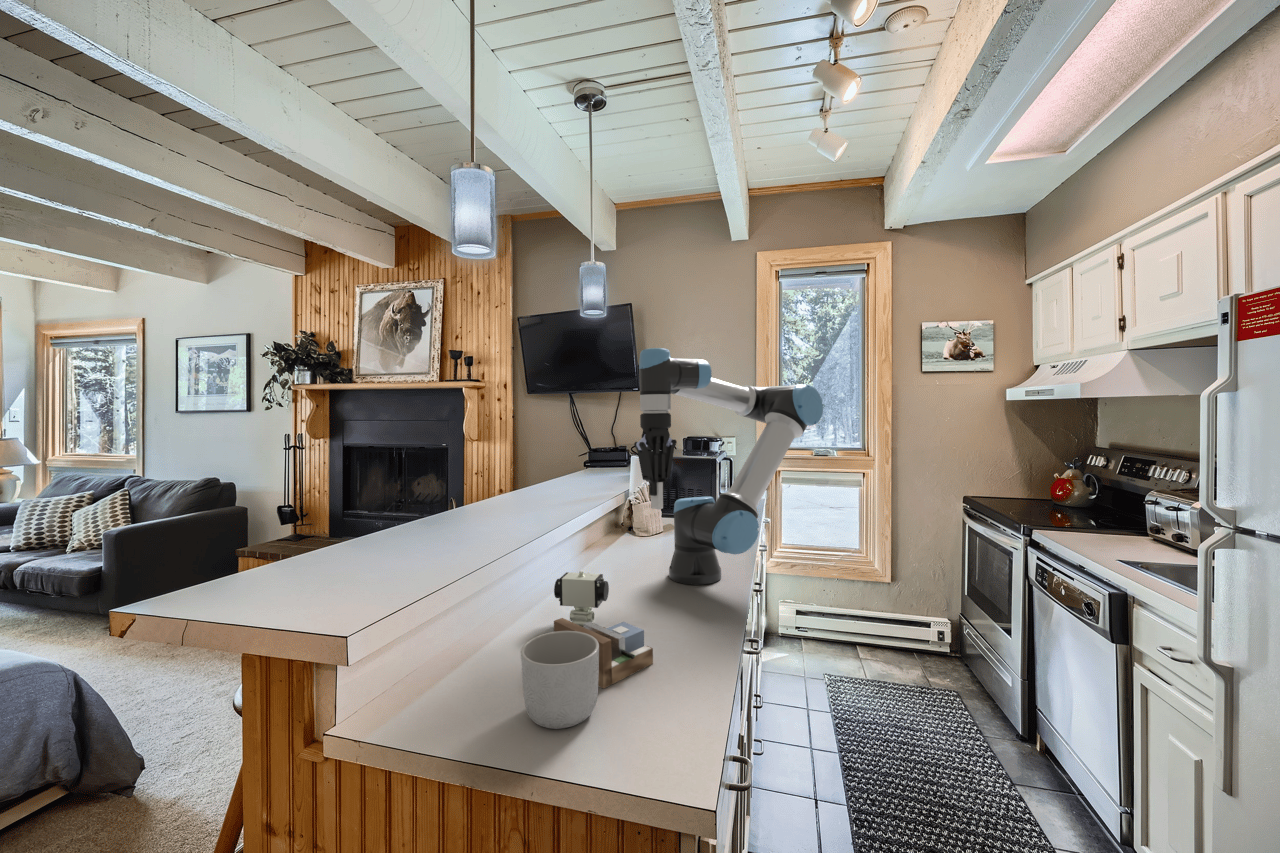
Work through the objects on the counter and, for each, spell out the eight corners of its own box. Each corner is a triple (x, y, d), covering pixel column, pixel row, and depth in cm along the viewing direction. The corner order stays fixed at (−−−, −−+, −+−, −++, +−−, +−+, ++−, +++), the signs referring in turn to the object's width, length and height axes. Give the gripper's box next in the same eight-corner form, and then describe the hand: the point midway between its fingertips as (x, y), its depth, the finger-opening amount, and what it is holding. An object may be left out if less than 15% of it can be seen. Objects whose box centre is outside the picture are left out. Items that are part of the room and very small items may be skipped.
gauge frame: (603, 640, 110) (602, 603, 110) (653, 663, 100) (652, 622, 100) (554, 661, 102) (553, 620, 101) (603, 688, 91) (602, 643, 91)
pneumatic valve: (604, 629, 116) (603, 575, 116) (554, 625, 119) (553, 573, 118) (610, 619, 122) (609, 568, 121) (562, 616, 124) (561, 566, 124)
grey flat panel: (590, 650, 105) (589, 621, 105) (636, 673, 96) (636, 641, 95) (584, 653, 104) (583, 623, 104) (630, 676, 95) (630, 644, 94)
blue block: (624, 645, 108) (623, 620, 108) (644, 654, 104) (643, 628, 104) (597, 656, 104) (597, 630, 103) (617, 667, 99) (617, 639, 99)
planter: (531, 746, 76) (529, 672, 76) (515, 703, 87) (514, 638, 87) (611, 724, 81) (610, 655, 81) (586, 686, 92) (585, 625, 92)
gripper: (662, 412, 135) (663, 503, 136) (625, 412, 126) (627, 510, 127) (684, 411, 130) (685, 506, 130) (647, 412, 120) (649, 514, 121)
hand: (657, 508), depth 128 cm, fingers closed
